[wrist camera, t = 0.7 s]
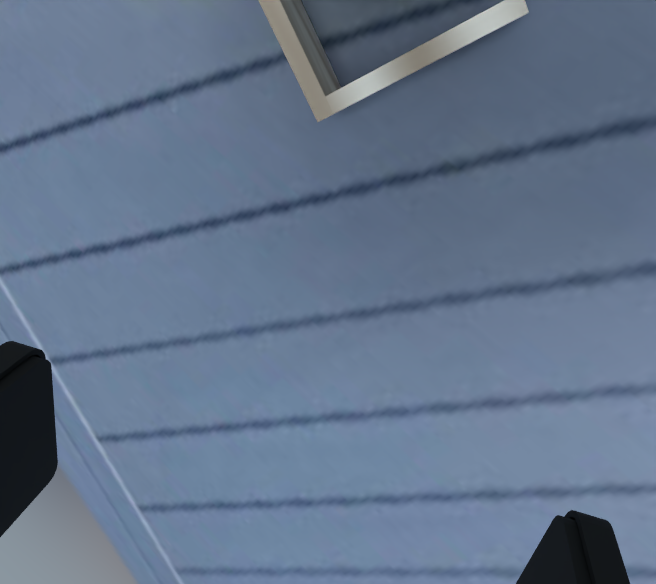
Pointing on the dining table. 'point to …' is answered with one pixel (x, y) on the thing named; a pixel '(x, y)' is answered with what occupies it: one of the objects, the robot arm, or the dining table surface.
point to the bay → (330, 98)
